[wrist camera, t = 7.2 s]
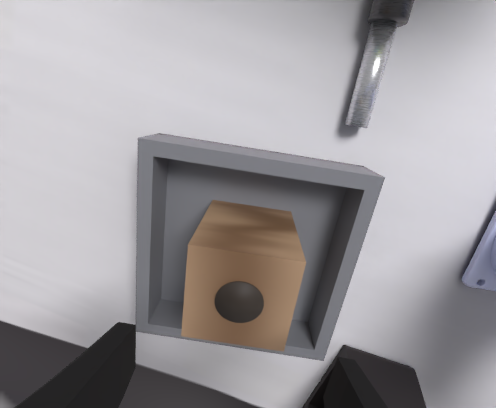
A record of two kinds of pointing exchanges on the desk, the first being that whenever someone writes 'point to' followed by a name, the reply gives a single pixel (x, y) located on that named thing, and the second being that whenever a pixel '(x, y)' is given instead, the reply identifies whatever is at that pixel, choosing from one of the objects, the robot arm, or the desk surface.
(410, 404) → the phone stand
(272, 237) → the block
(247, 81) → the desk surface
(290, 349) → the tray
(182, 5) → the desk surface
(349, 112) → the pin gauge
